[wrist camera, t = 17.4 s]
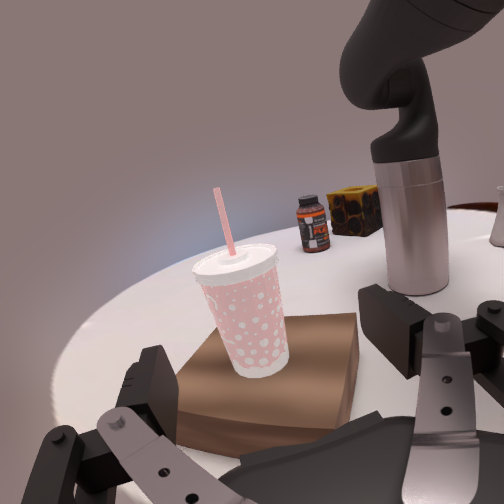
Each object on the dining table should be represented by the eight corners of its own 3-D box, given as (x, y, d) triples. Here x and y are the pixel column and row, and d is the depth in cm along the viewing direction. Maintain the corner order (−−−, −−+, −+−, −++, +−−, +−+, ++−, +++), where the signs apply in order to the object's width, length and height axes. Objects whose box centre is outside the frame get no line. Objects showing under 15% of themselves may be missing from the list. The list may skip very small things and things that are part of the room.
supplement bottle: (320, 254, 62) (310, 198, 59) (297, 252, 67) (287, 200, 64) (336, 244, 66) (326, 192, 63) (314, 243, 70) (304, 194, 67)
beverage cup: (229, 345, 28) (186, 193, 24) (296, 334, 27) (262, 175, 23) (219, 388, 22) (159, 205, 18) (301, 377, 21) (258, 180, 18)
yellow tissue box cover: (366, 237, 65) (359, 192, 63) (331, 235, 74) (324, 194, 71) (387, 224, 71) (382, 184, 68) (355, 223, 79) (349, 186, 76)
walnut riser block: (235, 354, 35) (224, 317, 34) (359, 354, 29) (356, 312, 28) (173, 443, 23) (150, 403, 21) (338, 469, 17) (334, 428, 16)
